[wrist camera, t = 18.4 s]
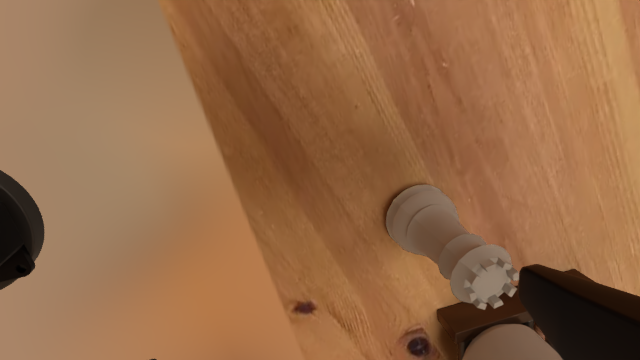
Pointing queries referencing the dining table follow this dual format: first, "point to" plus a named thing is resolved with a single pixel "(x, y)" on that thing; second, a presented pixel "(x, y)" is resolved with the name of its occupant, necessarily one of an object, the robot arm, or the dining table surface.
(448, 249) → the rook chess piece
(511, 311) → the dish rack
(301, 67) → the dining table surface
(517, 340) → the beverage can
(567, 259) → the dining table surface
